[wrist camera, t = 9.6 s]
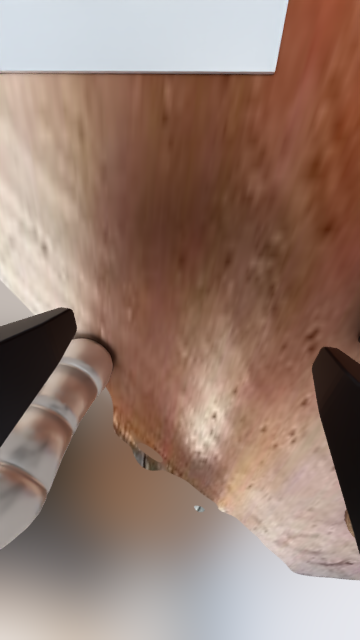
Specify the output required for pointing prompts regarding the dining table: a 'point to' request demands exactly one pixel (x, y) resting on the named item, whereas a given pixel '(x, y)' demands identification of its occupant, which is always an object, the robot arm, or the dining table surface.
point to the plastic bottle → (48, 434)
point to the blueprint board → (141, 36)
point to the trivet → (348, 523)
